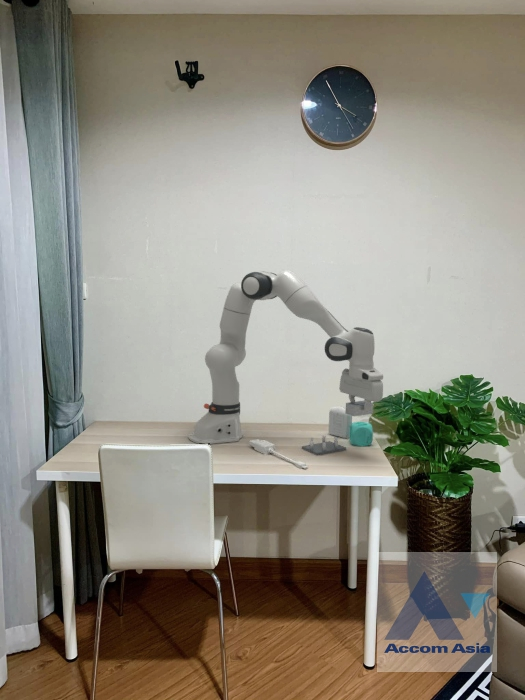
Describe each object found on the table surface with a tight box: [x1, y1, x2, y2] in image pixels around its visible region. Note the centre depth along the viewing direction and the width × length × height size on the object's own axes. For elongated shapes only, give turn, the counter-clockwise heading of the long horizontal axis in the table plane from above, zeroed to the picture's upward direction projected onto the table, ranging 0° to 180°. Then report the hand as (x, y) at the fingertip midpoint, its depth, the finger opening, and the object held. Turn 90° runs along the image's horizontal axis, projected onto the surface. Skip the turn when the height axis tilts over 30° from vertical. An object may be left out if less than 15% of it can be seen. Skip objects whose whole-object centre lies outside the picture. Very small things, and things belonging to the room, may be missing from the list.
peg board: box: [301, 435, 347, 456], centre depth 235 cm, size 14×10×4 cm
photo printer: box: [328, 406, 353, 440], centre depth 254 cm, size 10×4×12 cm, turn 47°
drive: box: [345, 400, 374, 417], centre depth 225 cm, size 9×5×4 cm, turn 122°
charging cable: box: [248, 438, 309, 470], centre depth 225 cm, size 5×32×3 cm, turn 35°
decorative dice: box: [349, 421, 374, 447], centre depth 244 cm, size 8×8×8 cm
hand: (359, 408), depth 225 cm, fingers closed on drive, 5 cm apart
